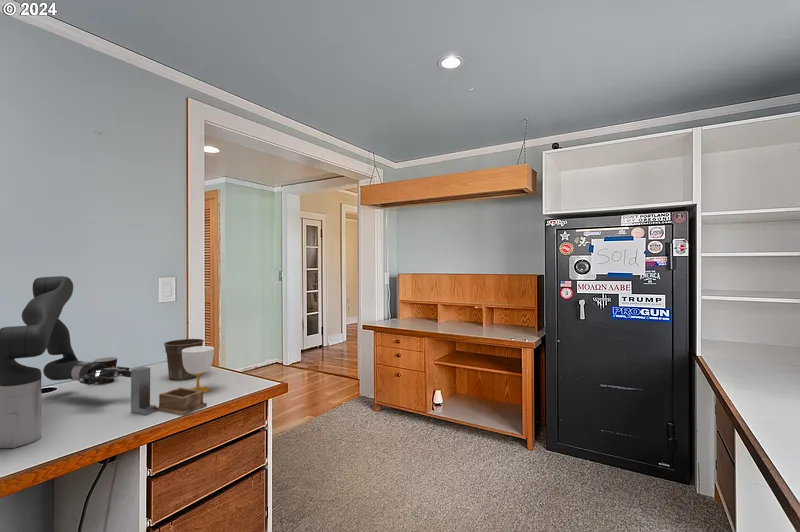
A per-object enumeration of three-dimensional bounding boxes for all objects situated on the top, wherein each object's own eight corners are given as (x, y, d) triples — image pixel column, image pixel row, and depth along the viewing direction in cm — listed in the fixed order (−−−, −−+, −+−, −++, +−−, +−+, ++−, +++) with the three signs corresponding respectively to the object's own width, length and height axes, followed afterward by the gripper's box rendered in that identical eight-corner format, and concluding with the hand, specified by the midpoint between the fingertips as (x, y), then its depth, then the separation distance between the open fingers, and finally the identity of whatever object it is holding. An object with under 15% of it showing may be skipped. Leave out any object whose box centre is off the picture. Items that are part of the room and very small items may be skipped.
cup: (204, 384, 168) (204, 344, 168) (219, 389, 162) (219, 348, 162) (175, 391, 159) (176, 349, 159) (191, 397, 152) (191, 353, 152)
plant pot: (164, 374, 184) (164, 340, 184) (203, 370, 192) (203, 337, 192) (162, 383, 170) (162, 346, 170) (204, 378, 177) (204, 343, 177)
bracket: (145, 415, 134) (145, 371, 134) (130, 412, 136) (131, 369, 136) (156, 411, 138) (156, 368, 138) (142, 408, 140) (142, 366, 140)
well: (182, 415, 134) (182, 399, 134) (155, 410, 138) (155, 394, 138) (206, 405, 143) (206, 390, 143) (180, 401, 148) (180, 386, 148)
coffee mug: (113, 378, 177) (113, 356, 177) (119, 382, 172) (120, 359, 172) (81, 384, 168) (81, 360, 168) (86, 388, 163) (86, 364, 163)
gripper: (67, 367, 141) (97, 372, 135) (109, 358, 154) (138, 362, 148) (67, 388, 141) (97, 394, 135) (109, 377, 154) (138, 382, 148)
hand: (119, 377), depth 142 cm, fingers open, 8 cm apart
